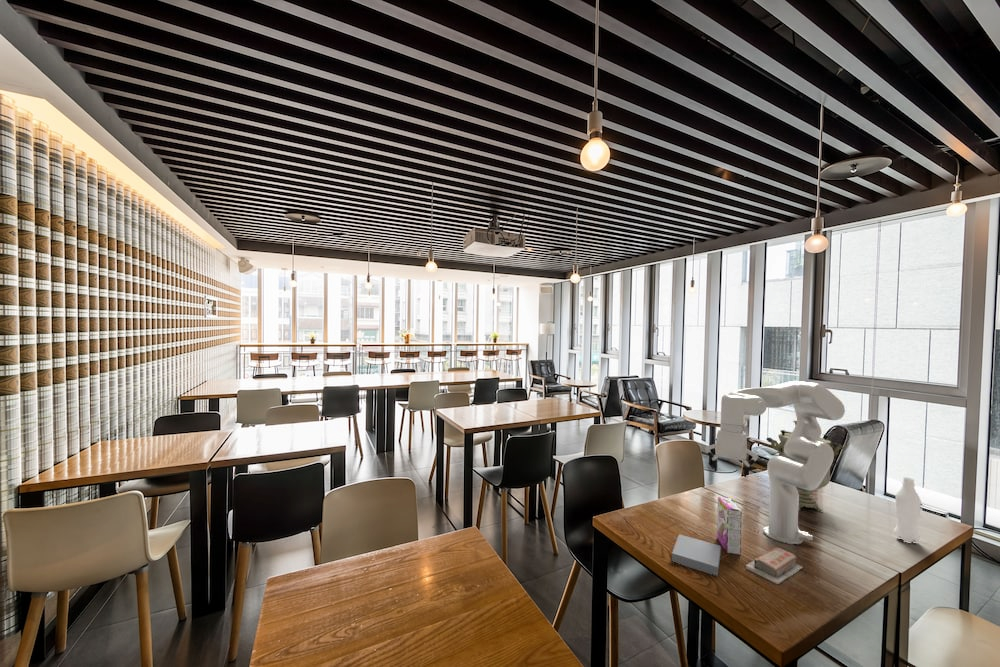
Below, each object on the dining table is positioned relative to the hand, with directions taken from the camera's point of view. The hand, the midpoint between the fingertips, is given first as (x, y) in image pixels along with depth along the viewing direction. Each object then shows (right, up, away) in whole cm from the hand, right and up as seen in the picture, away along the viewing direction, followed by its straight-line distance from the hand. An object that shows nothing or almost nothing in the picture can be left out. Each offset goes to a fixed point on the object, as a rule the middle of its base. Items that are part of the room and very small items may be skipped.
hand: (730, 473), depth 148 cm
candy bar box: (-1, -28, 0) cm, 28 cm away
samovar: (+56, -30, +37) cm, 74 cm away
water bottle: (+76, -31, +9) cm, 82 cm away
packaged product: (+7, -29, -13) cm, 32 cm away
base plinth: (-17, -27, -9) cm, 33 cm away
